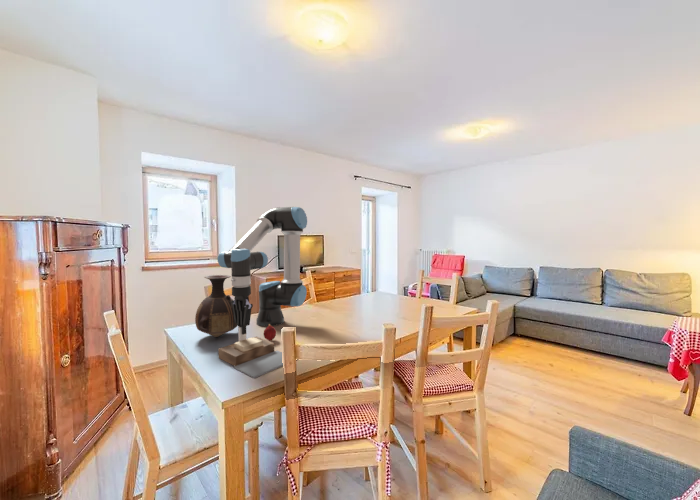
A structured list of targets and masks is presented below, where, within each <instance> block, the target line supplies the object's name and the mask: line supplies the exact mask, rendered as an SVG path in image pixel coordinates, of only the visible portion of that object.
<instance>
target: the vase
mask: <svg viewBox="0 0 700 500" xmlns="http://www.w3.org/2000/svg"><path fill="white" fill-rule="evenodd" d="M203 278H204V279H207V280H209V281H210V282H211V293H210V295H209V296H207V297H206V298H204V299H203V300H201V302H200V304H199V305H198V307H197V310H196V312H195V318H194V320H195V321H194V322H195V328H196V329H197V330H198V331H199V332H202V333H204V334H207V335H210V336H212V337H215V338H218V337H220V336H223V335H224V334H227V333H230V332H231V331H233V330H234V329H236V328H237V327H238V325H237V323H236V324H235V320H234V313H233V306H232V303H231V301H233V300H234V299H233V298H232V297H231V295H229V294H228V295H226V293H225V289H224V283H225V281H226V279H229V278H232V275H228V274H216V275H215V274H213V275H212V274H211V275H205V276H203Z"/></svg>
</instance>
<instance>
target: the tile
mask: <svg viewBox="0 0 700 500" xmlns="http://www.w3.org/2000/svg"><path fill="white" fill-rule="evenodd" d="M254 337H255V336H253V337H248V338H246V339H245V340H242V341H239V340H238V341H236V342H234V343H233V344H234V348H236V349H238V350H240V351H242V352H245V351H248V350H251V349H254V348H257V347H260V346H263V341H262V340H260V339H257V338H254Z"/></svg>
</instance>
